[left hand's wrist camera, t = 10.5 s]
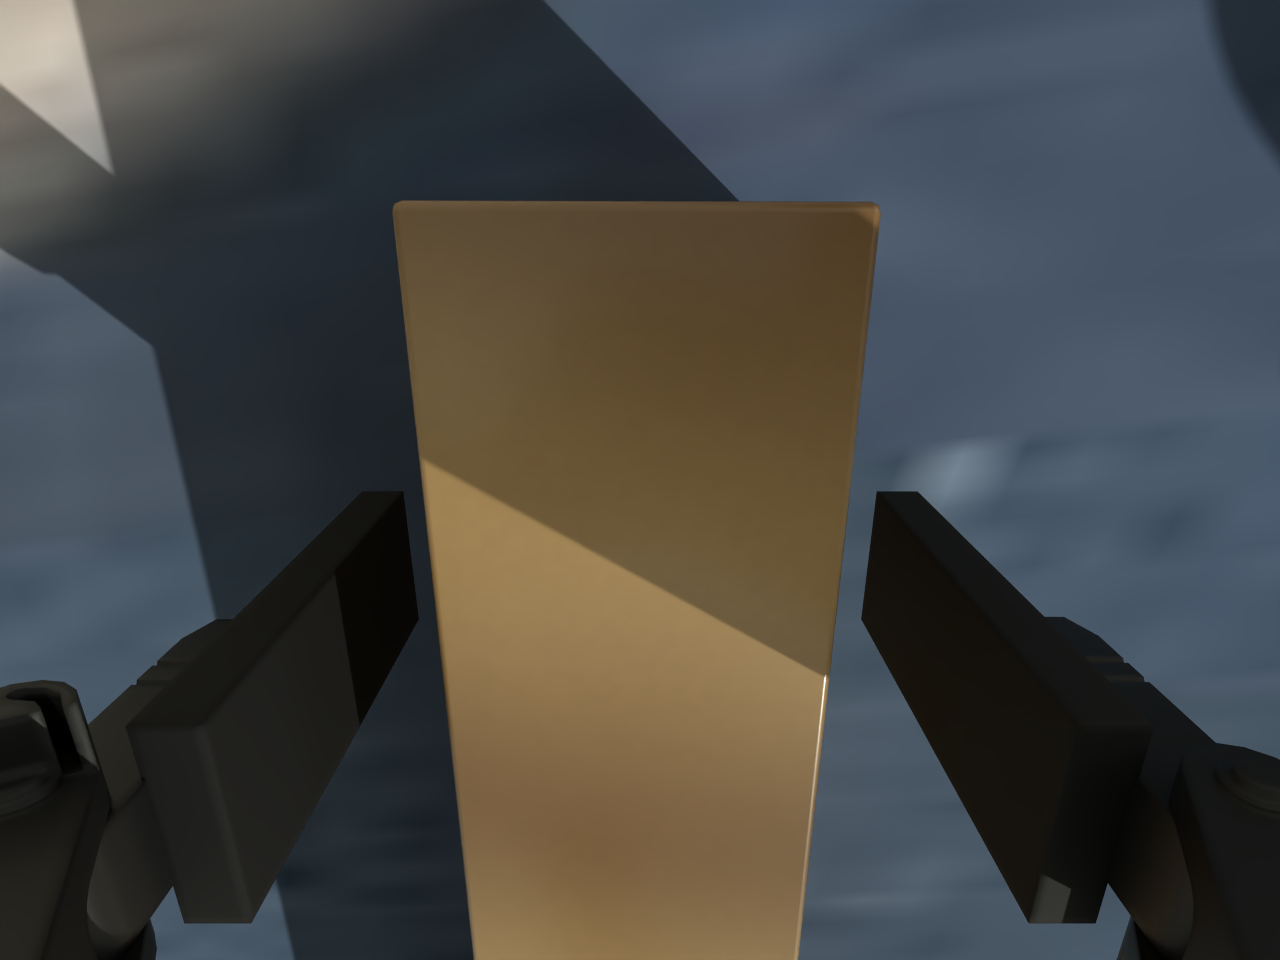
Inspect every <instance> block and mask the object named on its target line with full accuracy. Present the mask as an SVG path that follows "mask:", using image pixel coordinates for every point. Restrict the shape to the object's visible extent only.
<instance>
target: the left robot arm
mask: <svg viewBox="0 0 1280 960" xmlns="http://www.w3.org/2000/svg"><path fill="white" fill-rule="evenodd" d="M418 619H419V618H418V610H417V601H416V593H415V585H414V577H413V568H412V560H411V552H410V544H409V536H408V527H407V519H406V511H405V503H404V494H403V492H361V493H360V494H359V495H358V496H357V497H356V498H355V499H354V500H353V501H352V502H351V503H350V504H349V505H348V506H347V507H346V508H345V509H344V510H343V511H342V512H341V513H340V514H339V515H338V516H337V517H336V518H335V519H334V520H333V521H332V522H331V523H330V524H329V525H328V526H327V527H326V528H325V529H324V530H323V531H322V532H321V533H320V534H319V535H318V536H317V537H316V538H315V539H314V540H313V541H312V542H311V543H310V544H309V545H308V546H307V547H306V548H305V549H304V550H303V551H302V552H301V553H300V554H299V555H298V556H297V557H296V558H295V559H294V560H293V561H292V562H291V563H290V564H289V565H288V566H287V567H286V568H285V569H284V570H283V571H282V572H281V573H280V574H279V575H277V576H276V577H275V578H274V579H273V580H272V581H271V582H270V583H269V584H268V585H267V586H266V587H265V588H264V589H263V590H262V591H261V592H260V593H259V594H258V595H257V596H256V597H255V598H254V599H253V600H252V601H251V602H250V603H249V604H248V605H247V606H246V607H245V608H244V609H243V610H242V611H241V612H240V613H239V614H238V615H237V616H236V617H235V618H234V619H217V620H215V621H213V622H211V623H209V624H207V625H206V626H204V627H202V628H200V629H198V630H197V631H195V632H193V633H191V634H189V635H187V636H186V637H184V638H182V639H181V640H180V641H179V642H178V643H177V644H175V645H174V646H173V647H172V648H171V649H170V650H169V651H168V652H167V653H166V654H165V655H164V656H162V657H161V658H160V659H159V660H158V661H157V666H152V667H150V668H149V669H148V670H147V671H146V672H145V673H144V674H143V675H142V676H141V677H140V678H138V679H137V684H136V685H131V686H130V687H129V688H128V689H127V690H125V691H124V692H123V693H122V694H121V695H120V696H119V697H118V698H117V699H116V700H115V701H113V702H112V703H111V704H110V705H109V706H108V707H107V708H106V709H105V710H104V711H103V712H102V713H100V714H99V715H98V716H97V717H96V718H95V719H94V720H93V721H92V722H91V723H90V724H87V721H86V718H85V715H84V712H83V709H82V706H81V703H80V699H79V696H78V693H77V690H76V689H74V688H73V687H71V686H70V685H68V684H66V683H65V682H58V681H47V680H39V681H32V682H24V683H17V684H12V685H8V686H5V687H1V688H0V960H155V958H156V951H157V947H156V940H155V933H154V929H153V926H152V923H151V920H150V918H151V916H152V915H153V913H154V912H155V910H156V909H157V908H158V906H159V905H160V903H161V902H162V900H163V899H164V898H165V896H166V895H167V893H168V892H169V890H170V889H171V888H172V886H173V887H174V890H175V894H176V897H177V900H178V904H179V907H180V910H181V914H182V917H183V920H184V923H252V921H253V919H254V917H255V915H256V914H257V912H258V910H259V908H260V906H261V905H262V903H263V901H264V899H265V897H266V895H267V894H268V892H269V890H270V888H271V886H272V885H273V883H274V881H275V879H276V877H277V876H278V874H279V872H280V870H281V868H282V866H283V865H284V863H285V861H286V859H287V857H288V856H289V854H290V852H291V850H292V848H293V846H294V845H295V843H296V841H297V839H298V837H299V836H300V834H301V832H302V830H303V828H304V826H305V825H306V823H307V821H308V819H309V817H310V816H311V814H312V812H313V810H314V808H315V807H316V805H317V803H318V801H319V799H320V797H321V796H322V794H323V792H324V790H325V788H326V787H327V785H328V783H329V781H330V779H331V777H332V776H333V774H334V772H335V770H336V768H337V767H338V765H339V763H340V761H341V759H342V757H343V756H344V754H345V752H346V750H347V748H348V747H349V745H350V743H351V741H352V739H353V738H354V736H355V734H356V732H357V730H358V728H359V727H360V725H361V723H362V721H363V719H364V718H365V716H366V714H367V712H368V710H369V708H370V707H371V705H372V703H373V701H374V699H375V698H376V696H377V694H378V692H379V690H380V688H381V687H382V685H383V683H384V681H385V679H386V678H387V676H388V674H389V672H390V670H391V669H392V667H393V665H394V663H395V661H396V659H397V658H398V656H399V654H400V652H401V650H402V649H403V647H404V645H405V643H406V641H407V639H408V638H409V636H410V634H411V632H412V630H413V629H414V627H415V625H416V623H417V621H418ZM861 620H862V621H863V623H864V625H865V627H866V629H867V630H868V632H869V634H870V636H871V638H872V639H873V641H874V643H875V645H876V647H877V649H878V650H879V652H880V654H881V656H882V658H883V659H884V661H885V663H886V665H887V667H888V669H889V670H890V672H891V674H892V676H893V678H894V679H895V681H896V683H897V685H898V687H899V689H900V690H901V692H902V694H903V696H904V698H905V699H906V701H907V703H908V705H909V707H910V708H911V710H912V712H913V714H914V716H915V718H916V719H917V721H918V723H919V725H920V727H921V728H922V730H923V732H924V734H925V736H926V738H927V739H928V741H929V743H930V745H931V747H932V748H933V750H934V752H935V754H936V756H937V758H938V759H939V761H940V763H941V765H942V767H943V768H944V770H945V772H946V774H947V776H948V777H949V779H950V781H951V783H952V785H953V787H954V788H955V790H956V792H957V794H958V796H959V797H960V799H961V801H962V803H963V805H964V807H965V808H966V810H967V812H968V814H969V816H970V817H971V819H972V821H973V823H974V825H975V827H976V828H977V830H978V832H979V834H980V836H981V837H982V839H983V841H984V843H985V845H986V846H987V848H988V850H989V852H990V854H991V856H992V857H993V859H994V861H995V863H996V865H997V866H998V868H999V870H1000V872H1001V874H1002V876H1003V877H1004V879H1005V881H1006V883H1007V885H1008V886H1009V888H1010V890H1011V892H1012V894H1013V896H1014V897H1015V899H1016V901H1017V903H1018V905H1019V906H1020V908H1021V910H1022V912H1023V914H1024V915H1025V917H1026V919H1027V921H1028V923H1096V920H1097V917H1098V914H1099V910H1100V907H1101V904H1102V900H1103V897H1104V894H1105V890H1106V887H1107V884H1109V885H1110V887H1111V888H1112V889H1113V891H1114V892H1115V894H1116V895H1117V896H1118V898H1119V899H1120V901H1121V902H1122V904H1123V905H1124V906H1125V908H1126V909H1127V911H1128V912H1129V914H1130V915H1131V917H1130V920H1129V923H1128V926H1127V929H1126V933H1125V936H1124V939H1123V942H1122V945H1121V948H1120V951H1119V954H1118V957H1117V960H1280V760H1279V759H1277V758H1275V757H1272V756H1269V755H1266V754H1263V753H1260V752H1257V751H1254V750H1251V749H1248V748H1245V747H1239V746H1233V745H1226V744H1219V743H1215V742H1214V741H1213V740H1212V739H1211V738H1210V737H1209V736H1208V735H1207V734H1205V733H1204V732H1203V731H1202V730H1201V729H1200V728H1199V727H1198V726H1197V725H1196V724H1195V723H1193V722H1192V721H1191V720H1190V719H1189V718H1188V717H1187V716H1186V715H1185V714H1184V713H1182V712H1181V711H1180V710H1179V709H1178V708H1177V707H1176V706H1175V705H1174V704H1173V703H1172V702H1170V701H1169V700H1168V699H1167V698H1166V697H1165V696H1164V695H1163V694H1162V693H1161V692H1159V691H1158V690H1157V689H1156V688H1155V687H1154V686H1153V685H1152V684H1151V683H1150V682H1144V677H1143V676H1142V675H1141V674H1140V673H1139V672H1138V671H1136V670H1135V669H1134V668H1133V667H1132V666H1131V665H1130V664H1129V663H1124V662H1123V658H1122V657H1121V656H1120V655H1119V654H1118V653H1117V652H1116V651H1115V650H1113V649H1112V648H1111V647H1110V646H1109V645H1108V644H1107V643H1106V642H1105V641H1104V640H1102V639H1101V638H1100V637H1099V636H1098V635H1096V634H1094V633H1092V632H1090V631H1089V630H1087V629H1085V628H1083V627H1081V626H1079V625H1078V624H1076V623H1074V622H1072V621H1070V620H1068V619H1067V618H1065V617H1044V616H1043V615H1042V614H1041V613H1040V612H1039V611H1038V610H1037V609H1036V608H1035V607H1034V606H1033V605H1032V604H1031V603H1030V602H1029V601H1028V600H1027V599H1026V598H1025V597H1024V596H1023V595H1022V594H1021V593H1020V592H1019V591H1018V590H1017V589H1016V588H1015V587H1014V586H1013V585H1012V584H1011V583H1010V582H1009V581H1008V580H1007V579H1006V578H1005V577H1004V576H1002V575H1001V574H1000V573H999V572H998V571H997V570H996V569H995V568H994V567H993V566H992V565H991V564H990V563H989V562H988V561H987V560H986V559H985V558H984V557H983V556H982V555H981V554H980V553H979V552H978V551H977V550H976V549H975V548H974V547H973V546H972V545H971V544H970V543H969V542H968V541H967V540H966V539H965V538H964V537H963V536H962V535H961V534H960V533H959V532H958V531H957V530H956V529H955V528H954V527H953V526H952V525H951V524H950V523H949V522H948V521H947V520H946V519H945V518H944V517H943V516H942V515H941V514H940V513H939V512H938V511H937V510H936V509H935V508H934V507H933V506H932V505H931V504H930V503H929V502H928V501H927V500H926V499H925V498H924V497H923V496H922V495H921V494H920V493H918V492H877V494H876V502H875V511H874V519H873V527H872V535H871V544H870V552H869V560H868V568H867V577H866V585H865V593H864V601H863V610H862V618H861Z"/></svg>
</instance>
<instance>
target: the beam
mask: <svg viewBox="0 0 1280 960" xmlns="http://www.w3.org/2000/svg"><path fill="white" fill-rule="evenodd" d="M392 214H393V224H394V233H395V242H396V251H397V260H398V269H399V279H400V288H401V297H402V306H403V315H404V325H405V334H406V343H407V352H408V361H409V370H410V380H411V389H412V398H413V407H414V416H415V426H416V435H417V444H418V453H419V462H420V471H421V481H422V490H423V499H424V508H425V517H426V527H427V536H428V545H429V554H430V563H431V572H432V582H433V591H434V600H435V609H436V618H437V628H438V637H439V646H440V655H441V664H442V673H443V683H444V692H445V701H446V710H447V719H448V729H449V738H450V747H451V756H452V765H453V774H454V784H455V793H456V802H457V811H458V820H459V830H460V839H461V848H462V857H463V866H464V875H465V885H466V894H467V903H468V912H469V921H470V931H471V940H472V949H473V958H474V960H798V956H799V947H800V938H801V929H802V920H803V911H804V902H805V893H806V884H807V875H808V866H809V857H810V848H811V839H812V829H813V820H814V811H815V802H816V793H817V784H818V775H819V766H820V757H821V748H822V739H823V730H824V721H825V712H826V703H827V694H828V685H829V676H830V667H831V658H832V649H833V640H834V631H835V622H836V613H837V604H838V595H839V586H840V577H841V568H842V559H843V550H844V541H845V532H846V522H847V513H848V504H849V495H850V486H851V477H852V468H853V459H854V450H855V441H856V432H857V423H858V414H859V405H860V396H861V387H862V378H863V369H864V360H865V351H866V342H867V333H868V324H869V315H870V306H871V297H872V288H873V279H874V270H875V261H876V252H877V243H878V234H879V225H880V216H881V212H880V209H879V205H877V204H875V203H873V202H762V201H411V200H402V201H400V202H397V203H395V204H394V207H393V211H392Z"/></svg>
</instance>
